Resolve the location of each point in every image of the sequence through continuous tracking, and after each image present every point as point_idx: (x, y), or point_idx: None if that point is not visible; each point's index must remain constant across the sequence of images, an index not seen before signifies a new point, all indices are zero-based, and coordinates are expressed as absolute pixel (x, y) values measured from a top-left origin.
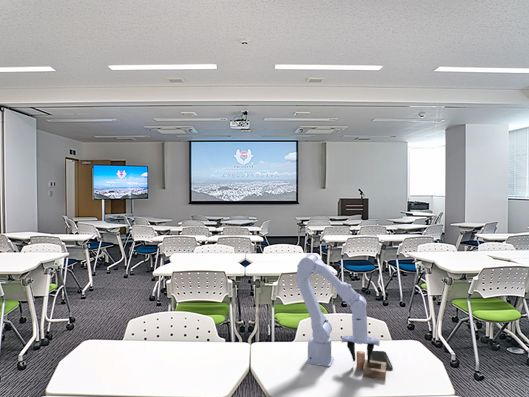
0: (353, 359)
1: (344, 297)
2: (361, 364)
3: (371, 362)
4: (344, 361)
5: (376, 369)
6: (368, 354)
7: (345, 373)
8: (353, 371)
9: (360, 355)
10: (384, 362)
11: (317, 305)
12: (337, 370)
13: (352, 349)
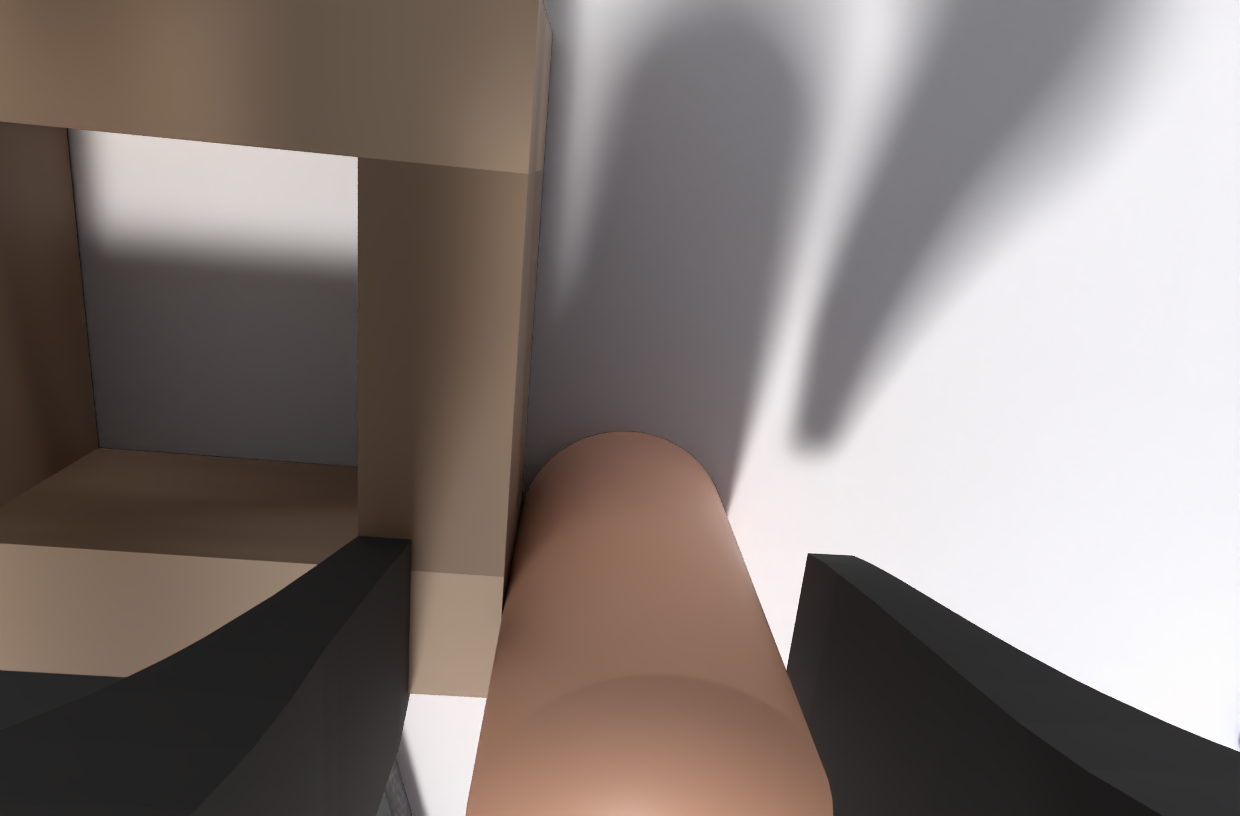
0: (874, 572)
1: None
2: (606, 483)
3: (283, 557)
4: None
5: (28, 59)
6: (253, 672)
7: (1034, 108)
8: (811, 274)
9: (658, 638)
10: None
11: None
12: (1230, 226)
13: (1188, 802)
